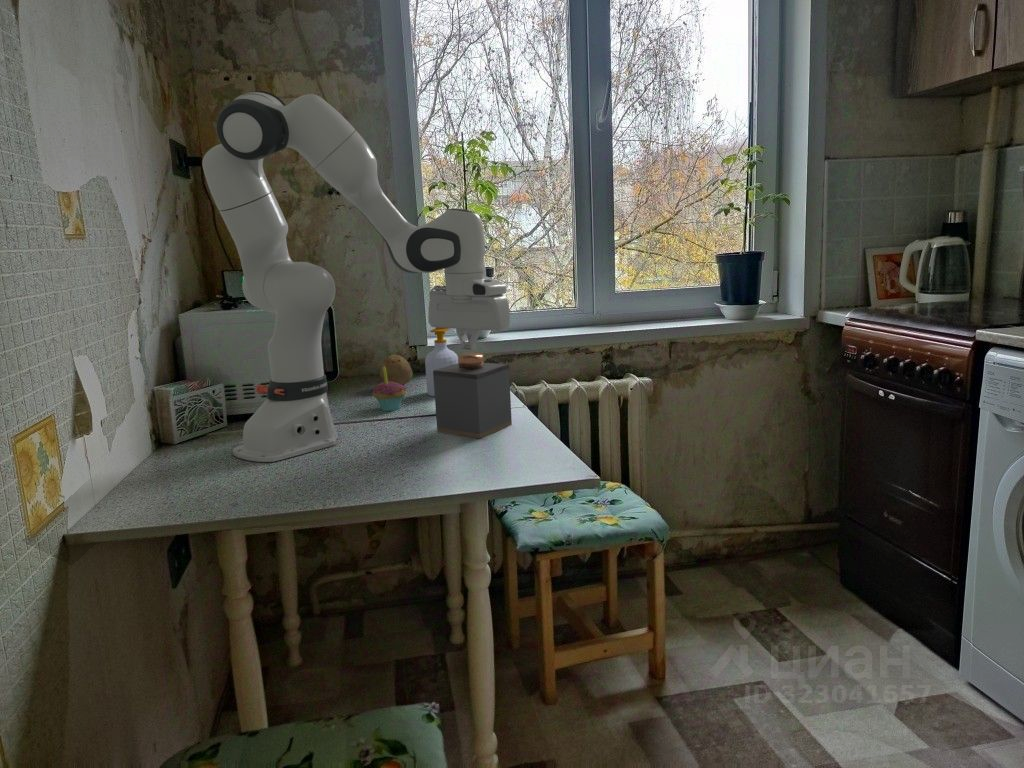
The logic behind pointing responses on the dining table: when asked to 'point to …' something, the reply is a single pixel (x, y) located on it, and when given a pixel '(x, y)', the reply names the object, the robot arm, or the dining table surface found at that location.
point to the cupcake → (389, 394)
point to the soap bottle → (438, 358)
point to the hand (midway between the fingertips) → (469, 349)
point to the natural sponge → (396, 369)
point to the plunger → (470, 360)
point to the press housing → (472, 399)
